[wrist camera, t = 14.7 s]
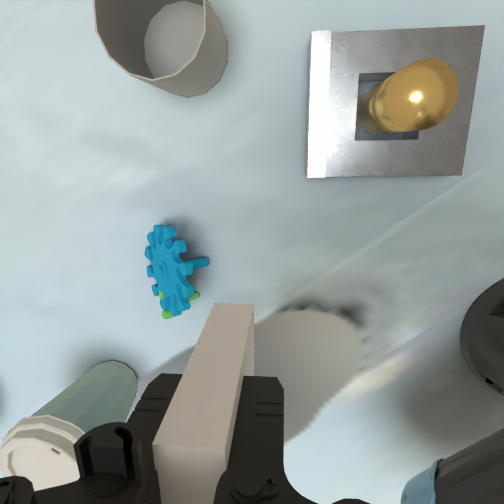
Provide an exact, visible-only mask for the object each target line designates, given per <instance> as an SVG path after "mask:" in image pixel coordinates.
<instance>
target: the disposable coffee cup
mask: <svg viewBox="0 0 504 504" xmlns="http://www.w3.org/2000/svg"><path fill="white" fill-rule="evenodd" d="M137 384H138V382H137V379H136V376H135V373H134V372H133V371H132V370H131V369H130V368H129V367H128V366H127V365H126V364H123V363H120V362H117V361H107V362H103V363H99V364H98V365H96V366H95V367H94V368H92V369H91V370H90V371H89V372H87V373H86V374H85V375H83V376H82V377H81V378H79V379H78V380H77V381H76V382H74V383H73V384H72V385H70V386H69V387H68V388H67V389H65V390H64V391H63V392H61V393H60V394H59V395H57V396H56V397H55V398H54V399H52V400H51V401H50V402H48V403H47V404H46V405H45V406H43V407H42V408H41V409H39V410H38V411H37V412H35V413H34V414H33V415H32V416H30V417H25V418H23V419H22V420H20V421H19V422H18V423H17V424H16V425H15V426H14V427H13V428H12V429H10V430H9V431H8V434H7V435H6V436H5V437H4V438H3V441H2V447H1V448H0V468H1V470H2V471H3V473H4V475H5V477H9V476H23V477H26V478H27V479H29V480H30V481H31V482H32V484H33V488H34V491H38V490H42V489H47V488H51V487H55V486H60V485H64V484H68V483H71V482H74V481H77V480H78V479H79V477H80V475H79V470H78V466H77V461H76V456H75V452H74V447H73V445H74V444H75V443H76V441H77V440H78V439H79V438H80V437H81V436H82V435H83V434H85V433H87V432H88V431H90V430H91V429H93V428H94V427H97V426H100V425H103V424H106V423H111V422H124V423H125V420H126V418H127V415H128V413H129V410H130V408H131V406H132V403H133V401H134V398H135V396H136V392H137V387H138V386H137Z"/></svg>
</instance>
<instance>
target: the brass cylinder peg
mask: <svg viewBox="0 0 504 504" xmlns="http://www.w3.org/2000/svg"><path fill="white" fill-rule="evenodd" d="M458 90H459V88H458V80H457V77H456V75H455V73H454V71H453V70H452V68H451V67H450V66H449V65H448V64H446V63H445V62H443V61H441V60H438V59H434V58H424V59H420V60H417V61H414V62H412V63H410V64H409V65H407V66H406V67H404V68H402V69H401V70H399V71H398V72H396V73H395V74H393V75H391V76H390V77H388V78H387V79H385V80H384V81H382V82H381V83H379V84H377V85H376V86H374V87H373V88H371V89H370V90H368V91H367V92H365V93H364V94H363V95H362V96H361V98H360V99H359V101H358V103H357V112H356V121H357V123H358V125H359V126H360V128H361V129H362V130H364V131H365V132H367V133H370V134H384V133H394V132H404V131H414V130H424V129H429V128H431V127H434V126H436V125H438V124H439V123H441V122H442V121H443V120H444V119H445V118H446V117H447V116H448V115H449V114H450V113H451V111H452V110H453V108H454V106H455V104H456V101H457V97H458Z"/></svg>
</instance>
